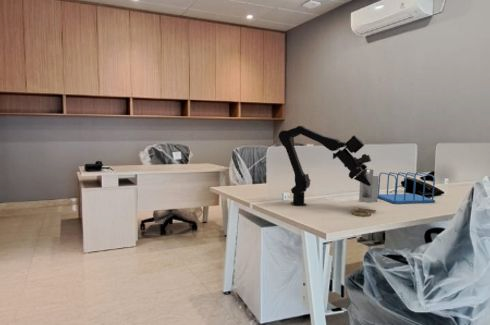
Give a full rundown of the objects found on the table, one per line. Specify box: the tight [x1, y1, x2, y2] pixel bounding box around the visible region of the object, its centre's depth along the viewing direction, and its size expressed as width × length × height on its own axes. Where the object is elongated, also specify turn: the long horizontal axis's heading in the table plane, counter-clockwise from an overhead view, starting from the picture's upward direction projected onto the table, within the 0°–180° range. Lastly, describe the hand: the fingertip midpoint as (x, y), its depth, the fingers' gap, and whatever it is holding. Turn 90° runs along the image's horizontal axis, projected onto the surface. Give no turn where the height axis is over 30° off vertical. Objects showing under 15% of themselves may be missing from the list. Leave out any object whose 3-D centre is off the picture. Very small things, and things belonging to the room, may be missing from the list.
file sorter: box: [377, 171, 436, 205], centre depth 196 cm, size 25×17×15 cm
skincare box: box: [358, 174, 379, 203], centre depth 189 cm, size 8×6×15 cm
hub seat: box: [350, 209, 372, 218], centre depth 159 cm, size 11×11×2 cm
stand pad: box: [357, 208, 377, 215], centre depth 166 cm, size 8×8×1 cm
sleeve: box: [362, 168, 374, 198], centre depth 165 cm, size 4×4×13 cm
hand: (370, 184), depth 164 cm, fingers closed on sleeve, 4 cm apart
